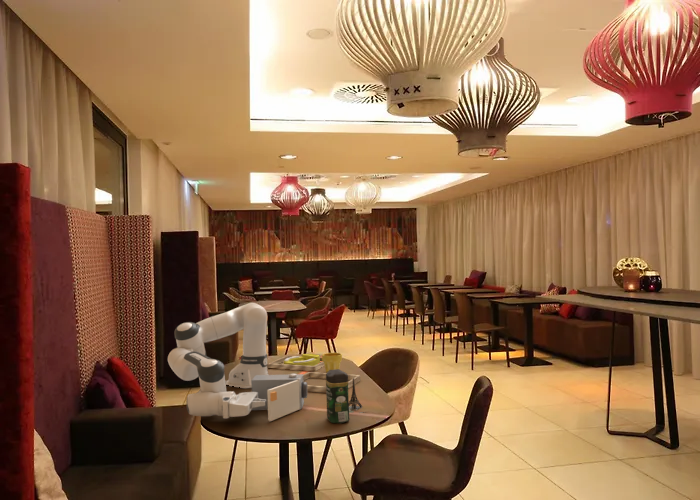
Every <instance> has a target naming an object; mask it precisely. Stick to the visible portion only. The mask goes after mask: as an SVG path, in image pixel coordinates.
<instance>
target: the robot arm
mask: <svg viewBox="0 0 700 500" xmlns="http://www.w3.org/2000/svg"><path fill="white" fill-rule="evenodd" d="M267 327H268V313H267V310H266V308H265V307H263V306H262V305H260V304H258V303H256V302H249V303H246V304H244V305H241V306H238V307H236V308H233V309H231V310H228V311H225V312H223V313H220V314H216V315H212V316H210V317H208V318H204V319H203V320H199V321H198V322H196V323H195V322H192V321H186V322H183V323H180V324H179V325H177V326H176V327H175V329H174V339H175V342H176V347H175V348H173V349H172V350H171V351H170V352H169V354H168V356H167V362H168V365H169V367H170V368H171V370H172V372H174V374H175V376H177V377H178V378H179V379H181V380H183V381H187V382H188V381H189V382H190V381H193V380H196V379H197V378H198V379H199V386H200V388H199V390H198V391H197V392H195V393H194V392H193V393H189V394H187V397H186V409H187V410H186V411H187V413H188V415H191V416H196V417H211V416H220V417H222V418H223V419H229V418H230V417H231V418H233V417H234V418H236V417H237V418H238V417H245V416H247V415H249V414H250V412H251V411H253V410H252V408H255V407H259V406H265V404H266V399H259V398H258V392H252V391H247V392H246V391H244V392H239V393H238V394H236V392H235V391H234V390H233V391H231V390H230V391H227V386H226V385H229V386H228V387H232V386H234V388H239V387H240V389H252V379H253V378H254V377H255V376H256V375H269V372H268V370H269V369H268V368H267V364H268V354H267V330H268V329H267ZM242 330H243V333H242V334H243V336H242V355H241V356H239V357H238V360H240V362H239V363H238V364H237V365H236V366H234V368H232V369H231V370H230V371H229V374H228V380H226V376H225V365H224V363H223V362H222V361H220V360H219V359H215V358H211V357H210V356H207V351H206V348H205V343H210V342H212V341H216V340H220V339H222V338H226V337H228V336H232V335H235V334H236V333H238V332H240V331H242Z"/></svg>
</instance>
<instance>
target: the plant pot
mask: <svg viewBox="0 0 700 500" xmlns="http://www.w3.org/2000/svg"><path fill="white" fill-rule="evenodd" d="M321 357H322V361H323V362H324V369H325V373H327V372H328V371H329V370H335V369H340V368H341V362H342V361H343V354H342V353H340V352H327V353H322V355H321ZM340 370H341V369H340Z"/></svg>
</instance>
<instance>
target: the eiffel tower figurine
mask: <svg viewBox="0 0 700 500" xmlns="http://www.w3.org/2000/svg"><path fill="white" fill-rule="evenodd" d="M355 385H356V384H354V376H353V386H352V388H351V389H352V390H351V392H352V393H351V397H350V400H349V414H350V413H352V414H353V413H355V411H358V410H360V409H362V407H363V406H362V403H360V401H359V399H358V398H357V394H356V386H355ZM363 412H364V411H363ZM363 412H362V411H361V412H359V414H361V413H363Z"/></svg>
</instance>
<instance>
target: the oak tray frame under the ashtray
mask: <svg viewBox="0 0 700 500" xmlns="http://www.w3.org/2000/svg"><path fill="white" fill-rule="evenodd" d="M295 356H296V355H285V356H283V357H280V358H277V359H276V360H273V361H270V362H269V363H268V362H267V369H268V368H278V369H277V370H285V369H290V370H289V371H302V370H303V372H304V371H305V372H306V371H307V372H316V371H318V370H320V369H322V368H324V367H325V366H324V362H320V363H319V364H317V365H315V366H303V365H285V364H284V362H283V361H284V360H285V359H286V358H290V357H295ZM299 357H302V355H301V356H300V355H299ZM320 361H322V356H320ZM281 362H283V363H281ZM278 363H281V364H278ZM323 366H324V367H323ZM321 367H322V368H321Z"/></svg>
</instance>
